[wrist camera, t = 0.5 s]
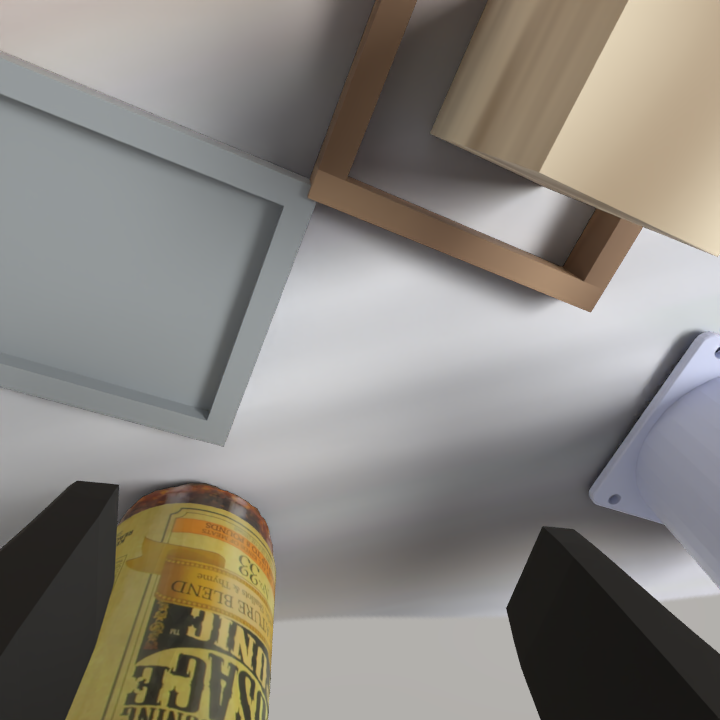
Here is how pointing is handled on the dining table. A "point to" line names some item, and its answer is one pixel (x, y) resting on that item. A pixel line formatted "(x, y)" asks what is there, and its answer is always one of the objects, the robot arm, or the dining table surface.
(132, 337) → the tray
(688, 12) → the peg
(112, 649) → the sauce bottle
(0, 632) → the robot arm
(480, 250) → the holder
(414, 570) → the dining table surface
